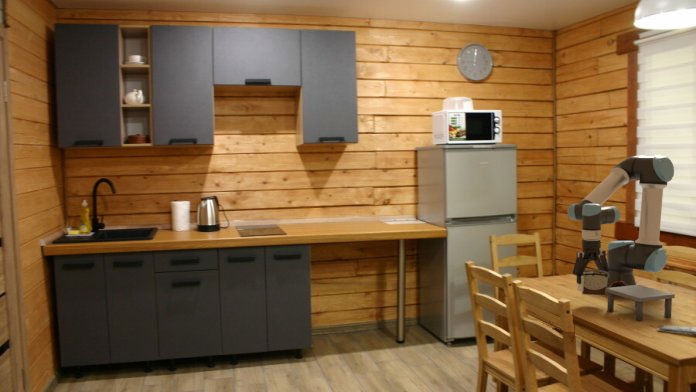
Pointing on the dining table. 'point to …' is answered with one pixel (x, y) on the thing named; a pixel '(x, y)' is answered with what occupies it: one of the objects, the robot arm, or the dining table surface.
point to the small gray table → (640, 298)
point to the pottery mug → (618, 284)
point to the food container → (595, 282)
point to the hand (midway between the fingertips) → (590, 289)
